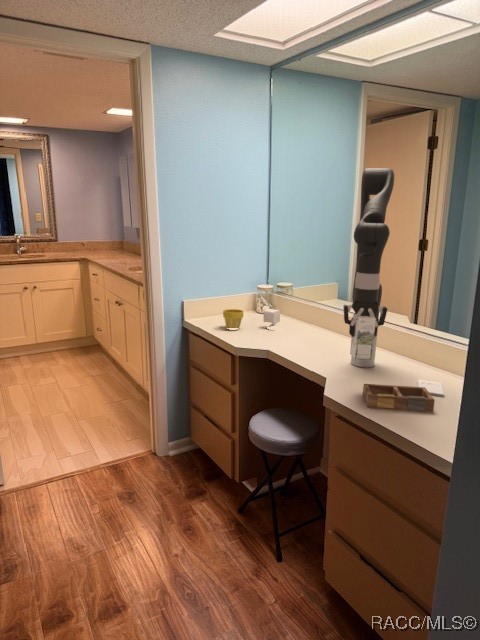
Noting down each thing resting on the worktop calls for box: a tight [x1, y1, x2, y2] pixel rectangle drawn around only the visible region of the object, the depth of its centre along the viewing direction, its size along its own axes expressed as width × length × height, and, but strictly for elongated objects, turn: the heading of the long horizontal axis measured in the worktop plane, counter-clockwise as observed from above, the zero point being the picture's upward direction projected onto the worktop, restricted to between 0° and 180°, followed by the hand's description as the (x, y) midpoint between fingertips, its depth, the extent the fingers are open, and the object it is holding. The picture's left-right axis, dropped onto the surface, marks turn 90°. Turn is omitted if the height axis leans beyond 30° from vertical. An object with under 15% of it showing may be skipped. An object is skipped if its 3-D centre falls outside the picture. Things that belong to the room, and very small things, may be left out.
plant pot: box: [222, 308, 244, 329], centre depth 234 cm, size 10×10×10 cm
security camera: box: [263, 308, 281, 327], centre depth 236 cm, size 6×7×10 cm
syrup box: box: [349, 314, 376, 360], centre depth 149 cm, size 6×6×14 cm
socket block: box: [362, 383, 436, 413], centre depth 144 cm, size 11×20×4 cm, turn 83°
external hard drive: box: [417, 379, 445, 398], centre depth 157 cm, size 2×8×12 cm
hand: (362, 336), depth 149 cm, fingers closed on syrup box, 6 cm apart
